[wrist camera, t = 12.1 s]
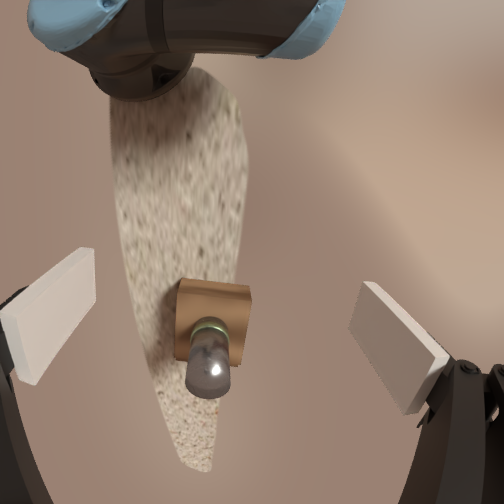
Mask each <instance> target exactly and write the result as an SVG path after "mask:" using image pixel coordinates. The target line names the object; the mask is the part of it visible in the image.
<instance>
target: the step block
mask: <svg viewBox="0 0 504 504" xmlns="http://www.w3.org/2000/svg"><path fill="white" fill-rule="evenodd" d="M251 303H252V299H251V293H250V288H249V286H246V285H238V284H229V283H220V282H212V281H204V280H196V279H188V278H182V279H181V282H180V285H179V288H178V291H177V303H176V323H175V349H174V358H176V360H178V361H186V362H188V358H189V351H190V339H191V333H192V331H193V326H194V324H195V322H196V321H197V320H199V319H200V318H203V317H206V316H213V317H217V318H219V319H221V320H222V321H224V322H225V324H226V325H227V327H228V334H229V363H230V366H234V367H238V365H241V360H242V353H243V349H244V343H245V338H246V332H247V326H248V321H249V315H250V309H251Z"/></svg>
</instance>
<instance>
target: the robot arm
mask: <svg viewBox="0 0 504 504" xmlns="http://www.w3.org/2000/svg"><path fill="white" fill-rule="evenodd" d="M345 2H346V0H30V2H29V5H28V11H27V22H28V26H29V29H30V31H31V33H32V34H33V35H34V37H36V38H37V39H38V40H39V41H41V42H42V43H43V44H45V46H46V47H47V48H48V49H49V50H53V51H54V52H55V51H57V52H59V53H61V54H63V55H65V56H67V57H69V58H71V59H72V60H74V61H76V62H78V63H80V64H82V65H84V66H85V67H87V68H89V71H90V74H91V77H92V79H93V81H94V82H95V84H96V85H97V86H98V87H99V88H100V89H101V90H102V91H103V92H105V93H106V94H108V95H110V96H112V97H114V98H116V99H119V100H123V101H129V102H138V101H145V100H149V99H152V98H155V97H158V96H160V95H162V94H164V93H165V92H167V91H169V90H170V89H171V88H173V87H174V86H175V85H176V84H178V83H179V82H180V81H181V79H182V78H183V77H184V76H185V75H186V73H187V72H188V70H189V68H190V67H191V65H192V62H193V59H194V56H195V53H213V54H234V55H248V56H256V58H260V59H266V58H270V57H271V58H283V59H294V60H297V59H303V58H305V57H307V56H310V55H312V54H314V53H315V52H316V51H318V50H319V49H320V48H321V47H322V46H323V44H324V43H325V42H326V41H327V39H328V38H329V37H330V35H331V33H332V32H333V30H334V28H335V26H336V24H337V22H338V20H339V18H340V16H341V13H342V11H343V8H344V5H345ZM94 270H95V269H94V249H92V248H85V247H80V248H78V249H77V250H75V251H74V252H73V253H72V254H70V255H69V256H67V257H66V258H65V259H63V260H62V261H61V262H59V263H58V264H57V265H55V266H54V267H53V268H51V269H50V270H49V271H48V272H46V273H45V274H44V275H42V276H41V277H40V278H39V279H37V280H36V281H35V282H34V283H32V284H31V285H30V286H27V287H24V288H22V289H19V290H18V291H17V292H15V293H14V294H13V295H12V296H11V297H9V298H8V299H7V300H6V302H4V303H2V304H1V305H0V504H53V501H52V499H51V497H50V495H49V493H48V491H47V489H46V486H45V484H44V482H43V480H42V477H41V475H40V472H39V470H38V467H37V465H36V462H35V460H34V457H33V454H32V451H31V449H30V446H29V443H28V440H27V437H26V433H25V430H24V427H23V423H22V420H21V416H20V413H19V409H18V405H17V401H16V397H15V393H14V388H13V383H12V380H11V377H10V374H9V373H10V372H11V371H12V369H13V368H15V371H16V373H17V376H18V379H19V380H20V381H23V382H26V383H29V384H31V385H34V386H35V385H36V384H37V382H38V381H39V379H40V378H41V376H42V375H43V373H44V372H45V370H46V369H47V367H48V366H49V365H50V363H51V362H52V360H53V359H54V357H55V356H56V354H57V353H58V352H59V350H60V349H61V347H62V346H63V344H64V343H65V342H66V340H67V339H68V338H69V336H70V335H71V333H72V332H73V331H74V329H75V328H76V327H77V325H78V324H79V323H80V321H81V320H82V318H83V317H84V316H85V314H86V313H87V312H88V311H89V309H90V308H91V307H92V306H93V304H94V303H95V302H96V291H95V271H94ZM348 329H349V331H350V332H351V334H352V335H353V337H354V338H355V340H356V341H357V343H358V344H359V346H360V347H361V349H362V350H363V352H364V354H365V355H366V357H367V358H368V360H369V361H370V363H371V364H372V366H373V368H374V369H375V371H376V372H377V374H378V375H379V377H380V378H381V380H382V382H383V383H384V385H385V386H386V388H387V390H388V391H389V393H390V394H391V396H392V398H393V399H394V401H395V403H396V404H397V405H398V407H399V409H400V411H401V412H402V414H403V415H409V414H414V413H418V412H419V410H420V409H421V407H422V406H423V404H424V403H425V401H426V402H427V404H428V405H429V408H428V410H427V412H426V413H425V415H424V416H423V418H422V419H421V421H420V422H419V424H418V425H417V428H419V427H420V425H422V424H423V426H422V430H421V434H420V438H419V442H418V445H417V449H416V452H415V456H414V460H413V462H412V466H411V469H410V472H409V475H408V478H407V481H406V484H405V487H404V489H403V493H402V495H401V497H400V500H399V503H398V504H504V365H501V364H496V365H494V366H493V368H492V369H491V371H490V373H489V374H482V373H481V370H480V369H479V368H478V367H477V366H476V365H475V364H473V363H471V362H469V361H466V360H457V361H456V360H455V359H454V358H453V357H452V356H451V355H450V354H449V353H448V352H447V351H446V350H445V349H444V348H443V347H442V346H440V344H439V343H438V342H437V341H435V339H434V338H433V337H432V336H431V335H430V334H429V333H428V332H426V331H425V330H424V329H423V328H422V327H421V326H420V325H419V324H418V323H417V322H416V321H415V320H414V319H413V318H412V317H411V316H410V315H409V314H408V313H407V312H406V311H405V310H404V309H403V308H402V307H401V306H400V305H398V303H396V302H395V301H394V300H393V299H392V298H391V297H390V296H389V295H388V294H387V293H386V292H385V291H384V290H383V289H382V288H381V287H380V286H378V285H377V284H376V283H375V282H366V281H363V282H362V285H361V289H360V292H359V296H358V299H357V302H356V305H355V308H354V311H353V314H352V318H351V321H350V324H349V327H348ZM498 407H499V414H498V416H497V417H496V419H495V420H494V421H493V420H492V415H493V414H494V413H495V411H496V410H497V408H498Z"/></svg>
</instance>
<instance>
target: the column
mask: <svg viewBox="0 0 504 504" xmlns="http://www.w3.org/2000/svg"><path fill="white" fill-rule="evenodd" d="M185 384H186V387H187V389H188V390H189V392H190V393H192V394H193V395H195V396H197V397H199V398H203V399H216V398H219V397H221V396H223V395H224V394H226V393H227V392H228V391H229V389H230V363H229V334H228V327H227V325H226V324H225V322H224V321H222V320H221V319H219V318H217V317H213V316H206V317H203V318H200V319H199V320H197V321H196V322H195V324H194V326H193V331H192V333H191V339H190V351H189V358H188V365H187V372H186V379H185Z"/></svg>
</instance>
